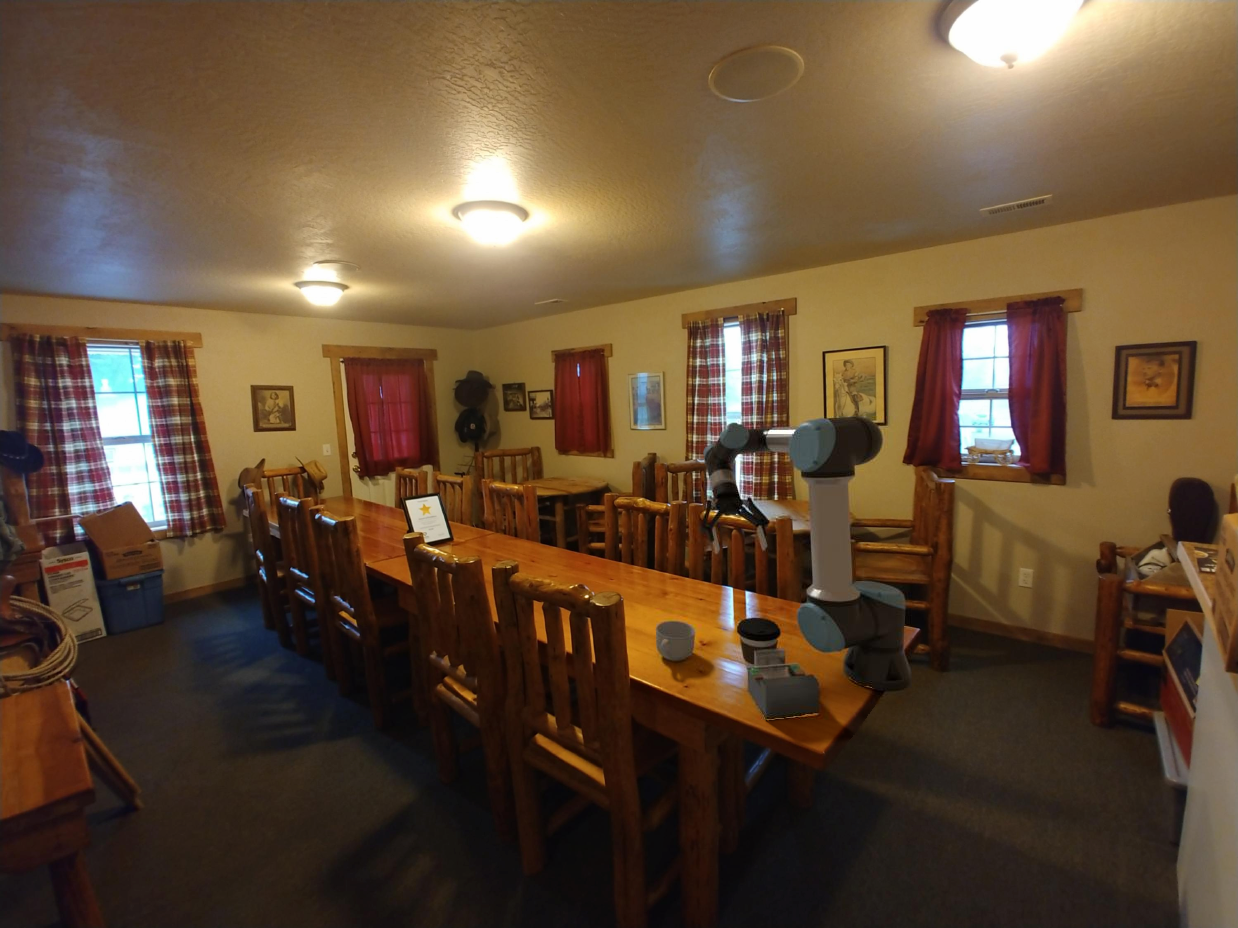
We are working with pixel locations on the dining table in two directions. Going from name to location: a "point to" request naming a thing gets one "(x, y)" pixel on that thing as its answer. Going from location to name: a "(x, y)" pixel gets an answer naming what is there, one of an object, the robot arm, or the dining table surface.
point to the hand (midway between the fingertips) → (741, 549)
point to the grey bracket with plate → (772, 663)
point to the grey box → (784, 693)
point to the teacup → (675, 640)
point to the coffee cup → (757, 637)
